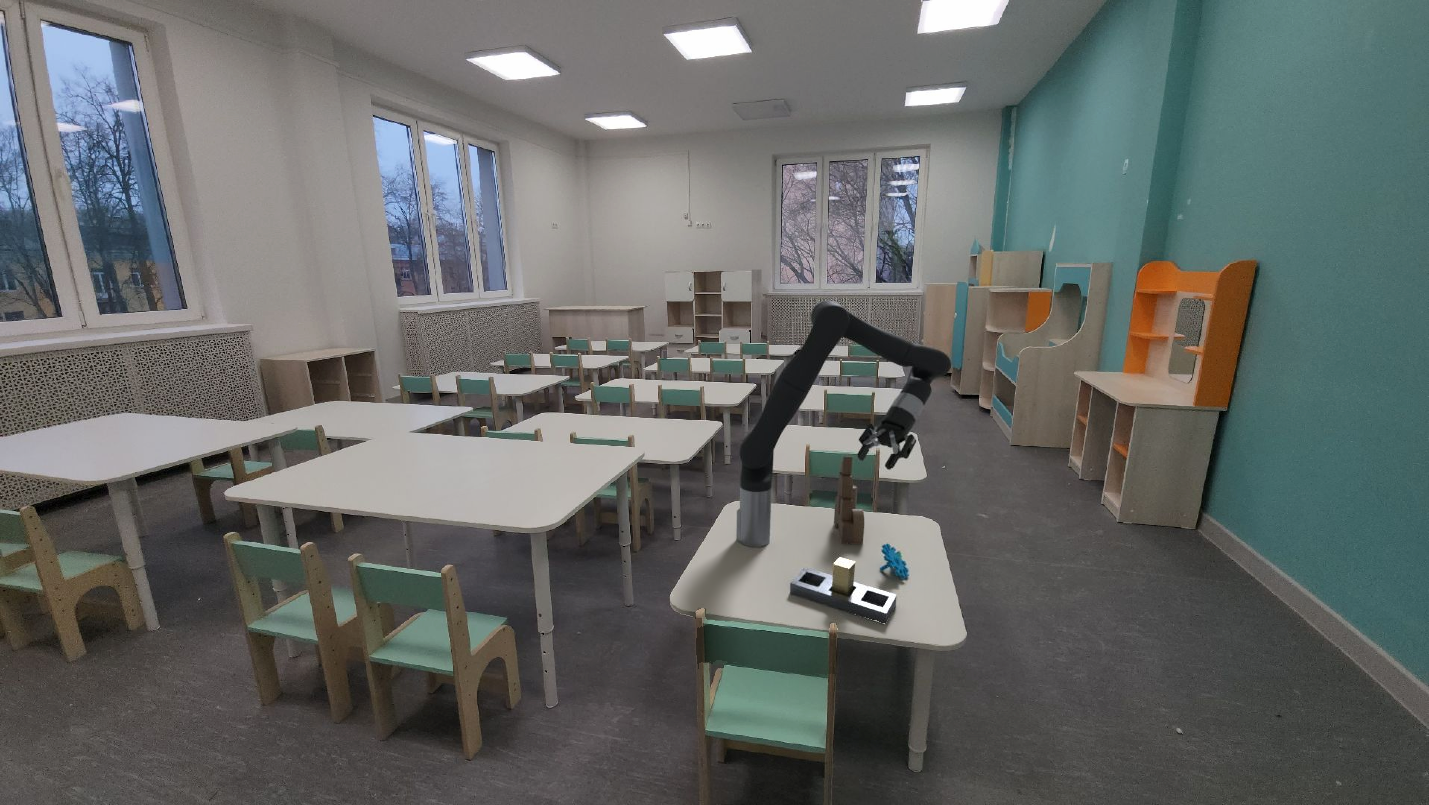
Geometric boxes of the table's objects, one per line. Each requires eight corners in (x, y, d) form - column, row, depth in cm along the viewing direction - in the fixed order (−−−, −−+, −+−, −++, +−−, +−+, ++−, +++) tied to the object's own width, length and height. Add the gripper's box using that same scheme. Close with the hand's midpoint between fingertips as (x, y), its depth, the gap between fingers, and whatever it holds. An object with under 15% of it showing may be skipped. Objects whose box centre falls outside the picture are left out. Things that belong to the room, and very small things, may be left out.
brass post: (831, 600, 142) (833, 563, 140) (837, 593, 145) (839, 557, 143) (846, 605, 140) (849, 568, 138) (852, 598, 143) (855, 561, 141)
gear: (906, 581, 148) (881, 548, 150) (887, 592, 150) (864, 559, 153) (915, 568, 157) (891, 536, 160) (897, 578, 160) (875, 547, 163)
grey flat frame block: (789, 593, 145) (790, 582, 144) (804, 577, 152) (804, 567, 152) (885, 624, 133) (886, 613, 132) (895, 605, 140) (896, 594, 139)
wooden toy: (864, 545, 170) (870, 465, 164) (841, 544, 170) (846, 464, 165) (853, 522, 185) (858, 448, 179) (832, 521, 185) (837, 447, 180)
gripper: (875, 400, 156) (845, 448, 152) (922, 411, 145) (891, 463, 141) (885, 416, 161) (856, 463, 156) (932, 427, 150) (902, 478, 146)
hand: (873, 463), depth 149 cm, fingers open, 8 cm apart
